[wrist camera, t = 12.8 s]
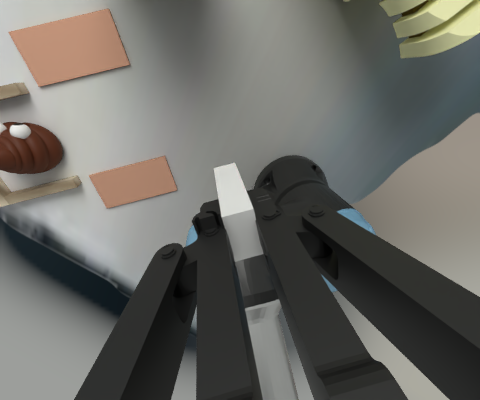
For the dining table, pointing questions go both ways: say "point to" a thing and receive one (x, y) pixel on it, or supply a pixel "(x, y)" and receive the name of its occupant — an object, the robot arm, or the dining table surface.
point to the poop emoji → (28, 148)
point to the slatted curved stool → (433, 24)
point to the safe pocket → (5, 197)
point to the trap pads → (85, 63)
